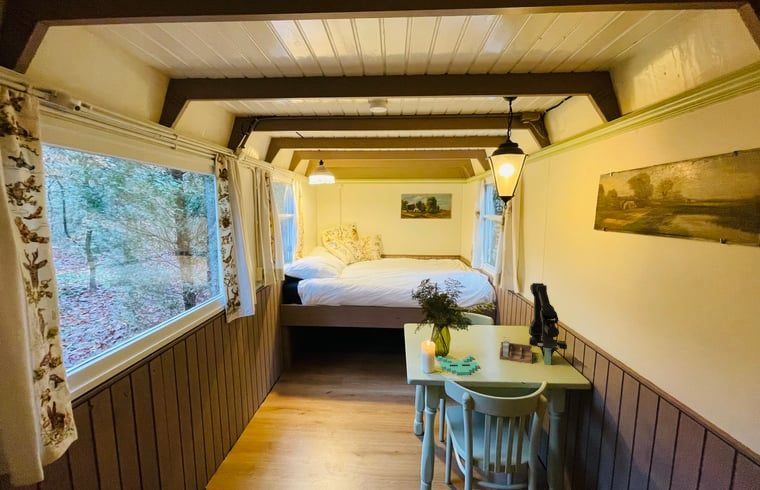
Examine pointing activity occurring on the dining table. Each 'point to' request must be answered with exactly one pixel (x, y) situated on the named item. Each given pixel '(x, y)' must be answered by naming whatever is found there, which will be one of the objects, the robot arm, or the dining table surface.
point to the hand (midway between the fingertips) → (547, 357)
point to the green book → (547, 356)
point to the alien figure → (459, 365)
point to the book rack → (515, 352)
